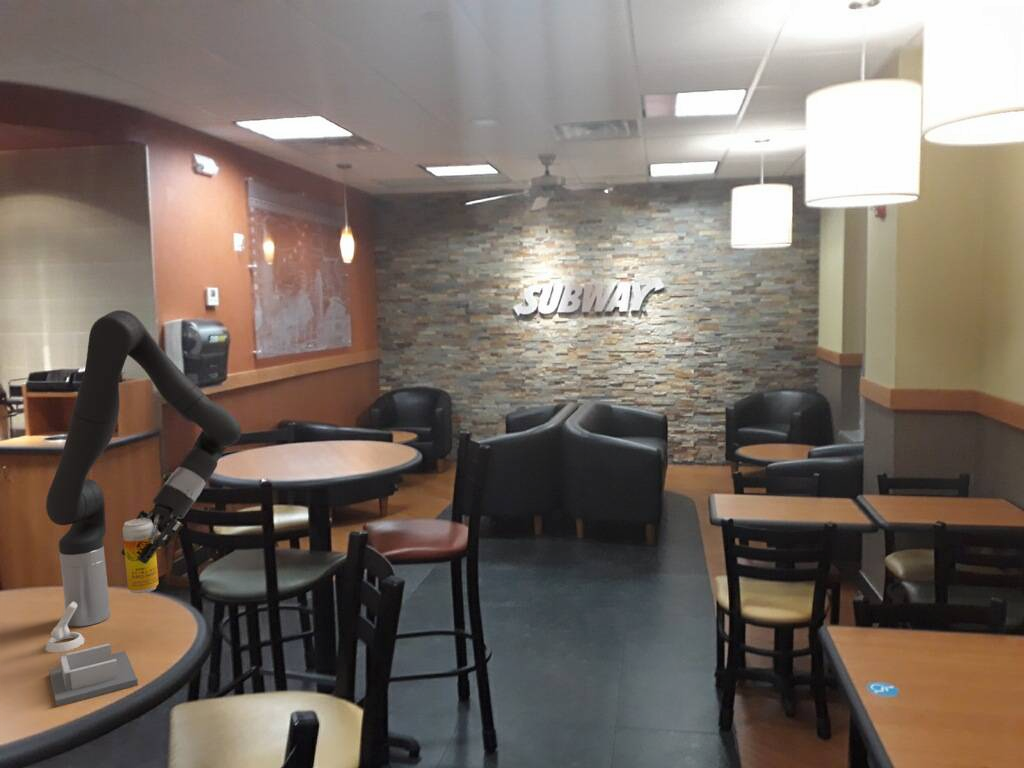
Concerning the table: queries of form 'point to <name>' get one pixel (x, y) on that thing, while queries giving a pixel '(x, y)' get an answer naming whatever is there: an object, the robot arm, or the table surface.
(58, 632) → the hook
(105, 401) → the robot arm
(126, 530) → the beer can
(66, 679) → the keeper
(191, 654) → the table surface
